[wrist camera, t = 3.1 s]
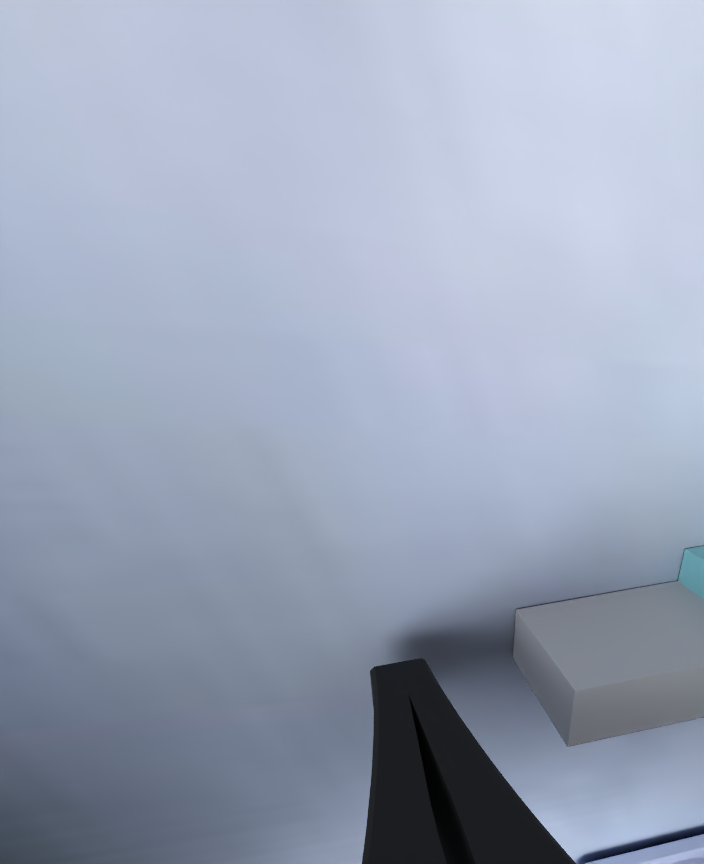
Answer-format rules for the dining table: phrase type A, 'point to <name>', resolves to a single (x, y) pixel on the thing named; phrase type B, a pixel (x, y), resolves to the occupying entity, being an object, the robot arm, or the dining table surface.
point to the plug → (618, 657)
